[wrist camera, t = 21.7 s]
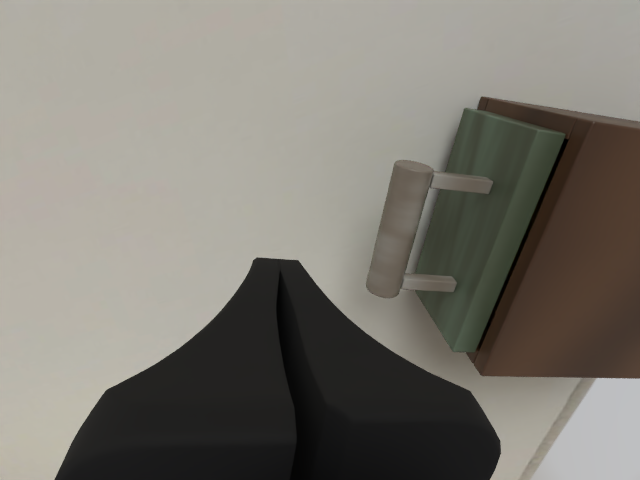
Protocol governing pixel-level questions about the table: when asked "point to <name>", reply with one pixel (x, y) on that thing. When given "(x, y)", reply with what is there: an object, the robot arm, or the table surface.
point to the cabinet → (574, 258)
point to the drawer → (465, 221)
